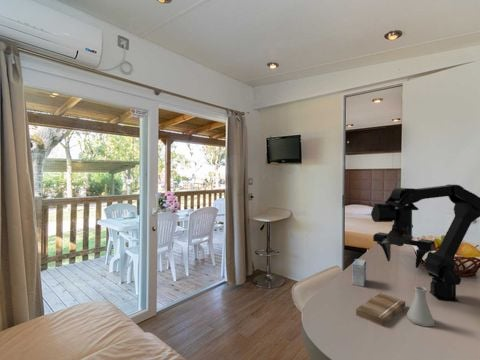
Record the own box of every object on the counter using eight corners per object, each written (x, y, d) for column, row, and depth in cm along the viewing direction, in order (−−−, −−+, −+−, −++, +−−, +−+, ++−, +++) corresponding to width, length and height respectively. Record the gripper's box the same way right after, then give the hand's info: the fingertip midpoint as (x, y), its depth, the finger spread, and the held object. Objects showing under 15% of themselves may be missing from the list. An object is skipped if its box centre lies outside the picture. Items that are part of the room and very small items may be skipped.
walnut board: (380, 298, 93) (380, 292, 93) (405, 306, 87) (405, 300, 87) (356, 314, 82) (356, 308, 82) (382, 326, 76) (382, 319, 76)
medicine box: (364, 287, 103) (364, 265, 103) (352, 284, 105) (352, 263, 105) (366, 280, 110) (366, 260, 109) (354, 278, 112) (355, 258, 112)
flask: (440, 329, 74) (440, 294, 74) (412, 325, 76) (412, 292, 76) (427, 315, 81) (428, 284, 81) (402, 313, 83) (402, 282, 83)
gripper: (366, 220, 96) (366, 262, 96) (426, 228, 82) (425, 277, 82) (379, 218, 103) (379, 256, 103) (436, 224, 89) (435, 269, 89)
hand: (402, 264), depth 94 cm, fingers open, 9 cm apart
